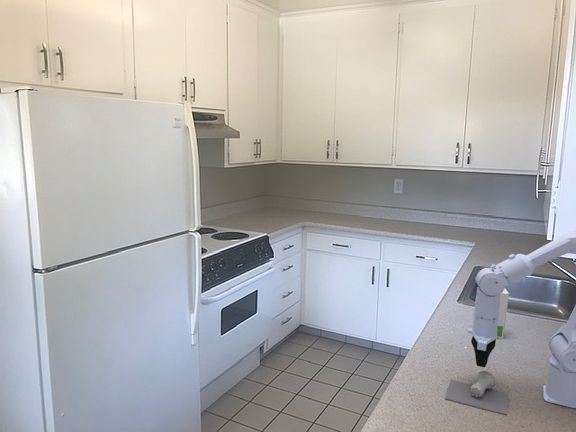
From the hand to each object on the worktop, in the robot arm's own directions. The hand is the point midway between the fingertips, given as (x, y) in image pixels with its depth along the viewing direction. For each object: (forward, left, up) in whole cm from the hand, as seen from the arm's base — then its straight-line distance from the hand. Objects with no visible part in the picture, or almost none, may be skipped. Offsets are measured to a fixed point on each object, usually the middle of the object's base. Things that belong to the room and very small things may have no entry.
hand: (481, 365), depth 122 cm
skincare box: (0, -38, -6) cm, 39 cm away
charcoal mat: (0, +5, -6) cm, 8 cm away
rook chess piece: (-2, -1, -3) cm, 4 cm away
